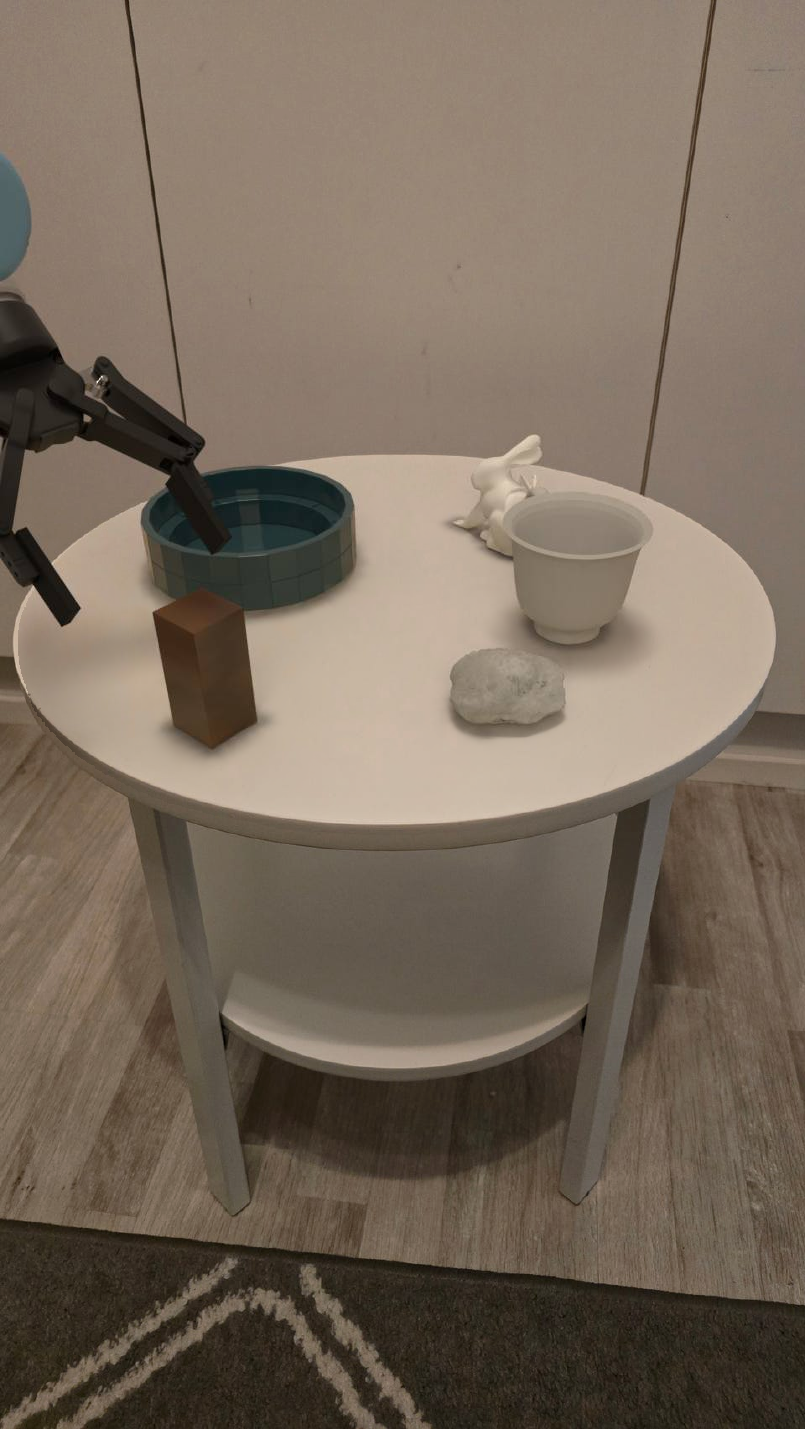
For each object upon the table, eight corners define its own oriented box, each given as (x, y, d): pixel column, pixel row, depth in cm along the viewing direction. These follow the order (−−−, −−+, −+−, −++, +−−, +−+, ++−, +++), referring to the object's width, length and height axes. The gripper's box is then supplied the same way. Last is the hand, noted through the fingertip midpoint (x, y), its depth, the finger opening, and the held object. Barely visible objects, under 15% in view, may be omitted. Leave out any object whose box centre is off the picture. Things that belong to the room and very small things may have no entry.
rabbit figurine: (451, 523, 102) (453, 432, 96) (512, 507, 105) (517, 418, 99) (515, 571, 93) (522, 475, 88) (580, 553, 96) (590, 459, 90)
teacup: (583, 570, 94) (594, 470, 88) (663, 650, 82) (682, 542, 76) (464, 590, 91) (467, 488, 85) (531, 677, 79) (540, 566, 73)
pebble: (503, 666, 81) (506, 613, 78) (580, 708, 76) (587, 654, 73) (427, 708, 76) (427, 654, 73) (504, 757, 71) (508, 701, 68)
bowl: (146, 626, 86) (135, 565, 82) (155, 528, 102) (145, 473, 98) (368, 606, 88) (366, 546, 85) (344, 513, 104) (341, 459, 100)
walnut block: (212, 749, 72) (193, 633, 66) (173, 725, 75) (151, 611, 69) (257, 721, 75) (243, 607, 69) (218, 698, 77) (201, 587, 71)
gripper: (113, 322, 81) (256, 541, 82) (-196, 406, 66) (-15, 672, 67) (142, 262, 75) (296, 498, 76) (-190, 338, 60) (9, 632, 61)
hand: (151, 580), depth 71 cm, fingers open, 13 cm apart
